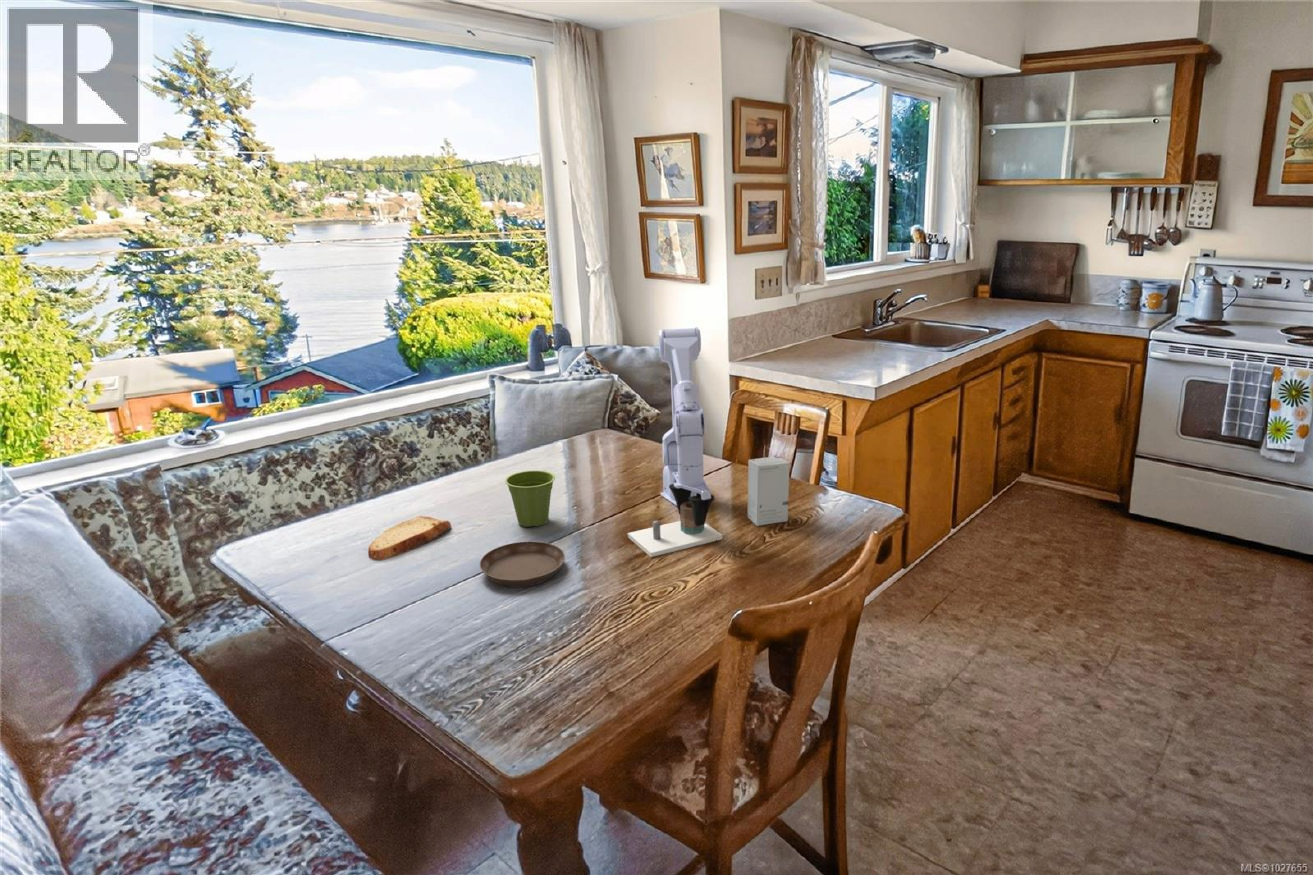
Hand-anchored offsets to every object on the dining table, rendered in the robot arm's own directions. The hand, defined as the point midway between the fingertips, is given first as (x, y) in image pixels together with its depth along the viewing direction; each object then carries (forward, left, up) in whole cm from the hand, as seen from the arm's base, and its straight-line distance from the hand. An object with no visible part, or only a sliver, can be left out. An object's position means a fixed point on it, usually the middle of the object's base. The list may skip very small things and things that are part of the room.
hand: (691, 519), depth 178 cm
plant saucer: (-2, -40, -4) cm, 40 cm away
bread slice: (-31, -58, -4) cm, 66 cm away
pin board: (0, -4, -4) cm, 6 cm away
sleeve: (0, 0, -3) cm, 3 cm away
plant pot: (-26, -30, -4) cm, 40 cm away
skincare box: (+2, +20, -4) cm, 20 cm away
